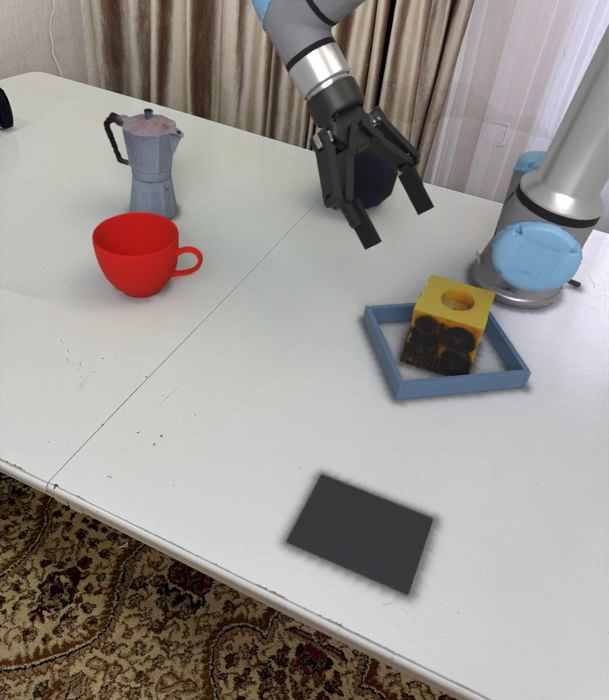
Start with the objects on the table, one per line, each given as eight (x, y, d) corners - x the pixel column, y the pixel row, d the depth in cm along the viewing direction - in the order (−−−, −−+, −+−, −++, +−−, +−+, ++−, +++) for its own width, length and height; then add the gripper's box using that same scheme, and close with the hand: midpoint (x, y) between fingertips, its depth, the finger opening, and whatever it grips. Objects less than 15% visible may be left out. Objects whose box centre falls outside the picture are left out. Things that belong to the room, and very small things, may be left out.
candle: (398, 362, 92) (411, 309, 85) (415, 324, 99) (428, 272, 92) (466, 384, 89) (485, 330, 83) (479, 342, 97) (496, 290, 90)
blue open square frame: (476, 312, 102) (481, 297, 100) (525, 387, 90) (531, 372, 88) (362, 320, 99) (365, 305, 97) (396, 400, 86) (399, 385, 84)
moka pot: (181, 230, 115) (173, 124, 102) (103, 217, 117) (85, 111, 104) (198, 206, 122) (192, 104, 109) (124, 194, 124) (109, 92, 111)
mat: (286, 542, 68) (287, 540, 68) (321, 476, 75) (321, 474, 75) (408, 595, 65) (408, 593, 65) (432, 520, 72) (433, 518, 72)
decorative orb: (319, 156, 131) (327, 116, 116) (389, 159, 132) (406, 120, 117) (319, 219, 128) (326, 187, 114) (390, 222, 129) (407, 190, 115)
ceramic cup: (191, 320, 96) (188, 266, 89) (87, 303, 97) (76, 248, 91) (215, 274, 106) (213, 222, 99) (120, 258, 107) (112, 206, 100)
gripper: (363, 83, 95) (427, 207, 98) (249, 125, 80) (330, 270, 83) (397, 55, 89) (464, 188, 92) (282, 95, 74) (367, 253, 77)
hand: (401, 227), depth 88 cm, fingers open, 13 cm apart
